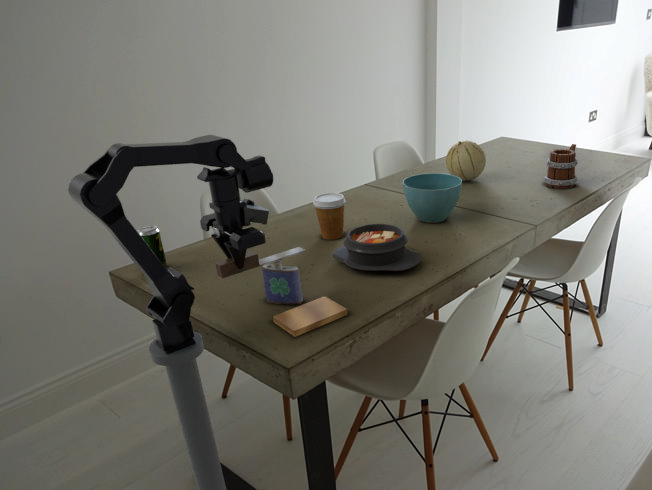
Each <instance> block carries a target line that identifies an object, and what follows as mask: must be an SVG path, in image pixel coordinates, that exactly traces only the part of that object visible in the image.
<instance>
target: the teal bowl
mask: <svg viewBox="0 0 652 490" xmlns="http://www.w3.org/2000/svg"><path fill="white" fill-rule="evenodd" d="M462 185H463V181H462V180H461V179H460V178H459V177H457V176H454V175H451V174H450V173H443V172H442V173H441V172H439V173H438V172H429V173H427V172H426V173H419V174H418V173H417V174H414V175H409V176H408V177H405V178H404V179H403V180H402V189H403V193H404V197H405V200H406V202H407V204H408V207H409V208H410V210H411V212H412V213H413V214H414V215H415V217H416V218H417V219H418V220H419V221H421V222H423V223H426V224H437V223H441V222H445V220H447V218H448V217H449V216H450V215H451V213H452V212H453V211H454V209H455V207H456V206H457V203H458V201H459V199H460V196H461V192H462Z"/></svg>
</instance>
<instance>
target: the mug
mask: <svg viewBox="0 0 652 490" xmlns="http://www.w3.org/2000/svg"><path fill="white" fill-rule="evenodd" d="M576 148H577V144H575V143H572V144H571V145H570V147H569V148H568V149H567V148H557V149H552V150H550V151H549V157H548V158H547V160H546V165H547V172H546V174H545V175H544V178H543V181H544V182H545V183H544V185H545V186H546V187H548V188H553V189H557V190H558V189H559V190H561V189H562V190H564V189H572V188H573V187H575V186H576V183H577V182H578V176H576V167H577V166H578V164H579V163H578V160H577V157H576V156H577V155H576V153H577V152H576Z"/></svg>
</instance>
